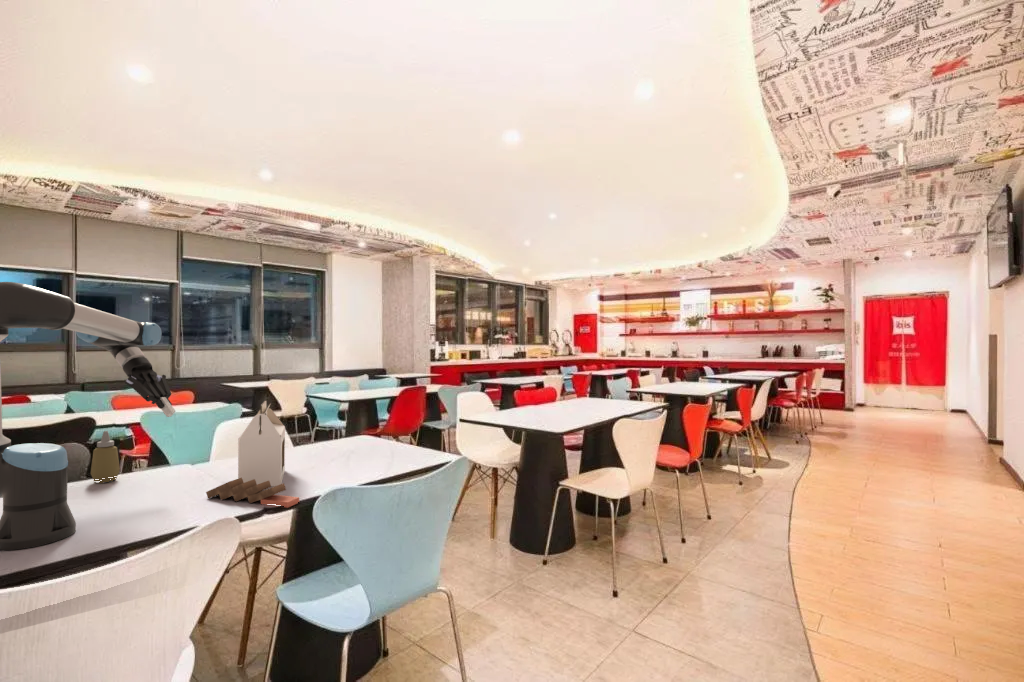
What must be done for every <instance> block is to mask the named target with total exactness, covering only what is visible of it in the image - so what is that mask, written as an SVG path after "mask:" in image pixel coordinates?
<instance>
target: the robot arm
mask: <svg viewBox="0 0 1024 682" xmlns="http://www.w3.org/2000/svg"><path fill="white" fill-rule="evenodd" d="M9 329H44V330H45V329H46V330H51V331H59V330H62V329H63V330H67V331H73V332H75V334H76V336H77V338H78V339H80V340H82V341H84V342H85V343H88V344H90V345H93V346H96V347H98V348H101V349H103V350H106V351H108V352H109V353H110V354H111V355H112V356H113V358H114V360H115V361H116V362H117V364H118V365H119V366H120V367H121V369H122V371H123V372H124V373H125V375H126V376H127V379H126V380H125V382H124V384H126V385H127V386H129V387H131V388H132V389H133V390H134V391H135V392H136V393H137V394H138V395H140V397H142V398H143V399H144V401H146V402H151V404H152V405H156V406H157V407H158V408H159V409H160V410H161V411H162V412H163V413H164V415H165V417H166V418H170V417H173V415H175V413H176V409H175V408H174V407H173V403H172V402H171V401H170V397H171V395H172V392H171V389H170V386H169V384H168V382H167V380H166V378H167V375H166V374H162V375H160V374H158V373H157V372H156V371H154V369H153V365H152V363H151V362H150V361H149V359H148V358H147V356H146V355H145V354H144V352H143V350H141V348H140V347H139V346H145V347H147V346H156V345H158V344H159V343H160V342H161V339H162V333H163V332H162V328H161V327H160V325H159V324H157V323H155V322H148V321H146V322H141V321H137V320H132V319H129V318H126V317H123V316H119V315H116V314H112V313H110V312H106V311H102V310H100V309H96V308H93V307H90V306H86V305H84V304H79V303H77V302H74V300H72V299H71V297H69V296H67V295H64V294H62V293H61V294H60V293H57V292H54V291H50V290H47V289H44V288H41V287H37V286H33V285H31V284H27V283H20V282H16V281H15V282H13V281H0V343H1V342H2V341H3V340H4V339H6V338H7V337H8V336H9ZM1 362H2V361H1V360H0V499H1V498H2V514H1V516H0V551H14V550H22V549H29V548H34V547H39V546H44V545H48V544H52V543H55V542H57V541H58V542H59V541H60V540H64V539H65V538H68V537H70V536H71V535H73V534H74V533H75V532H76V529H77V525H76V524H77V523H76V520H75V518H74V515H73V513H72V511H71V508H70V506H69V505H68V477H69V476H68V473H69V471H68V470H69V469H68V467H69V460H68V452H67V449H66V448H65V446H64V447H63V446H62V445H59V444H55V443H48V442H47V443H46V442H45V443H44V442H40V443H39V442H37V443H34V442H33V443H21V444H19V443H18V444H14V445H12V439H10V438H9V437H7V436H5V435H4V434H3V408H2V403H3V402H2V401H3V400H2V374H1V373H2V371H1V370H2V369H1V367H2V366H1Z"/></svg>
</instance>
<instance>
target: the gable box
mask: <svg viewBox="0 0 1024 682" xmlns="http://www.w3.org/2000/svg"><path fill="white" fill-rule="evenodd" d="M271 404H272V403H271V402H270V403H269V404H268V405H267V400H264V401H263V402H262V403H261V404H260V409H259V410H258V412H257V414H256V415H254V416H253V417H252V419H251V421H249V423H248V425H247V426H246V428H245V430H244V431H243V432H242V434H240V436H239V437H238V442H237V444H238V447H237V448H238V450H237V451H238V452H237V453H238V456H237V458H238V459H237V460H238V461H237V465H238V467H237V470H238V471H237V479H239V478H242V479H243V482H244V483H245V482H248V481H251V480H254V479H255V481H256V484H257V485H258V484H260V483H263V482H266V481H270V484H271V486H272V487H275V486H277V485H280V484H283V479H284V476H285V475H284V474H285V471H286V470H285V469H286V468H285V467H286V466H285V465H286V459H285V457H286V426H285V425H284V423H282V421H281V420H280V419H279V417H278V416H277V414H276V413H275V412H274V410H273V409H272V408H270V406H271Z"/></svg>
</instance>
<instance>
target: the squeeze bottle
mask: <svg viewBox="0 0 1024 682" xmlns="http://www.w3.org/2000/svg"><path fill="white" fill-rule="evenodd" d="M90 466H91V467H90V476H91V477H92V479H94V480H93V482H94V481H100V480H102V481H100V482H99V483H98V484H104V483H103V482H109V481H112V482H114V481H113V480H115V481H116V480H117V479H118V476H119V474H120V473H119V472H120V471H121V469H120V461H119V451H118V447H117V446H115V440H111V438H110V434H109V431H108V430H105V431H103V432H102V436H101V440H100V441H97V442H96V447H95V449H93V452H92V459H91V465H90ZM114 476H117V477H114ZM108 477H113V478H108ZM102 478H105V479H102ZM115 478H116V479H115ZM95 479H99V480H95ZM110 479H111V480H110ZM109 483H110V482H109Z"/></svg>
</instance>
